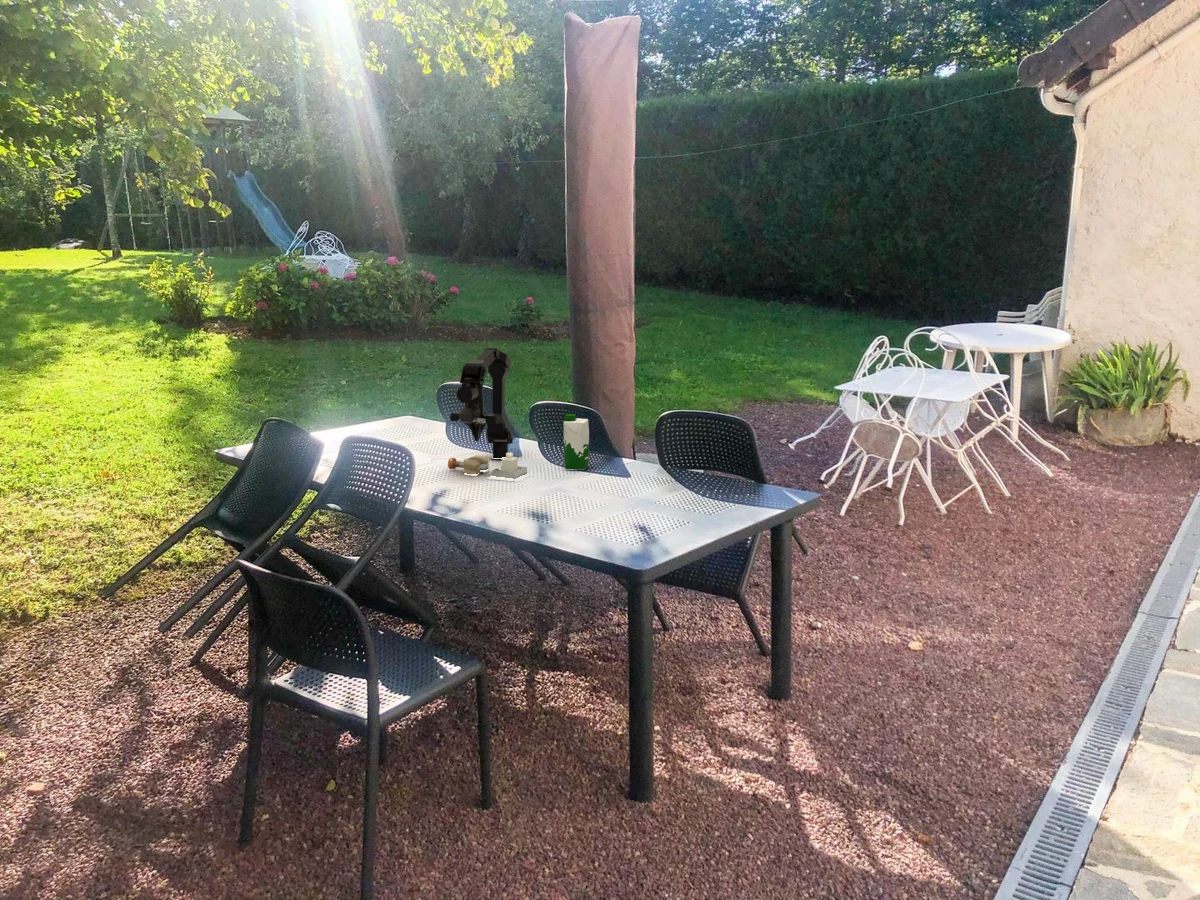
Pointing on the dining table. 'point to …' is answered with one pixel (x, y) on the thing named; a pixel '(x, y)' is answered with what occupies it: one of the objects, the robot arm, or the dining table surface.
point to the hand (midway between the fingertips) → (477, 441)
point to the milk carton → (576, 442)
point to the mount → (474, 464)
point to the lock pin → (461, 464)
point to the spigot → (509, 463)
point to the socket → (510, 474)
